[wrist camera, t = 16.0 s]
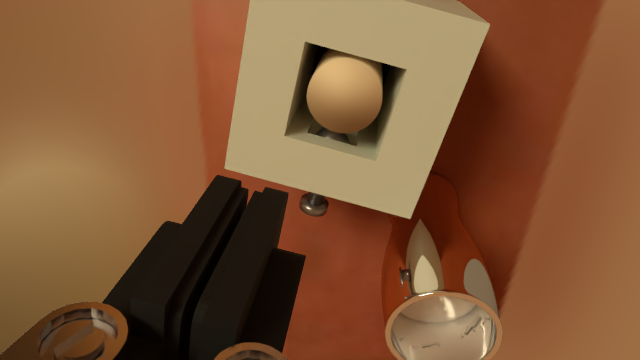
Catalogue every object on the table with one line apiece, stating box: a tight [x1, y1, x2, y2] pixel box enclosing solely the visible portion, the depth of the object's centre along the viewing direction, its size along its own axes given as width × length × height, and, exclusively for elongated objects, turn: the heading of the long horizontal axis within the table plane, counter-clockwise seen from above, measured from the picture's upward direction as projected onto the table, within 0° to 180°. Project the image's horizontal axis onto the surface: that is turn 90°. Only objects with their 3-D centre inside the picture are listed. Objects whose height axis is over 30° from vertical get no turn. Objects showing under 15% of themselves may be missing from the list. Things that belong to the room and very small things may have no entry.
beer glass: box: [381, 173, 503, 360], centre depth 32 cm, size 7×7×15 cm
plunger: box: [299, 127, 349, 216], centre depth 30 cm, size 6×2×2 cm, turn 166°
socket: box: [224, 0, 490, 219], centre depth 29 cm, size 12×12×10 cm
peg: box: [307, 47, 383, 133], centre depth 29 cm, size 4×4×10 cm
